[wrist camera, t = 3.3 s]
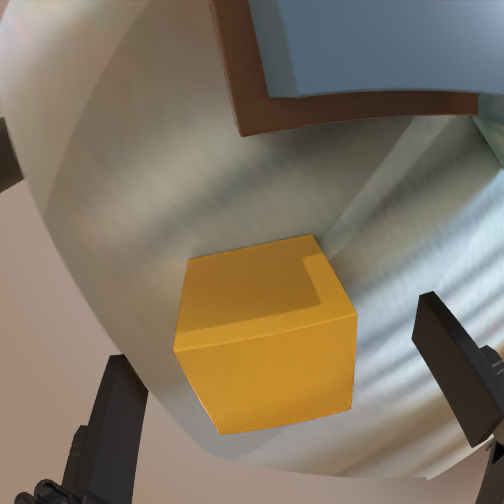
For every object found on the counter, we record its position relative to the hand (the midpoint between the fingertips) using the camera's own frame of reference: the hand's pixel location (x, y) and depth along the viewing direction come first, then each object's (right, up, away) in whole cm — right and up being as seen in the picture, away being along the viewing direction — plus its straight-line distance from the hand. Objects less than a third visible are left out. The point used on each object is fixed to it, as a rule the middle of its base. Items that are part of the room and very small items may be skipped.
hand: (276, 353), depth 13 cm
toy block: (-1, +2, +3) cm, 4 cm away
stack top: (+2, +12, -6) cm, 14 cm away
